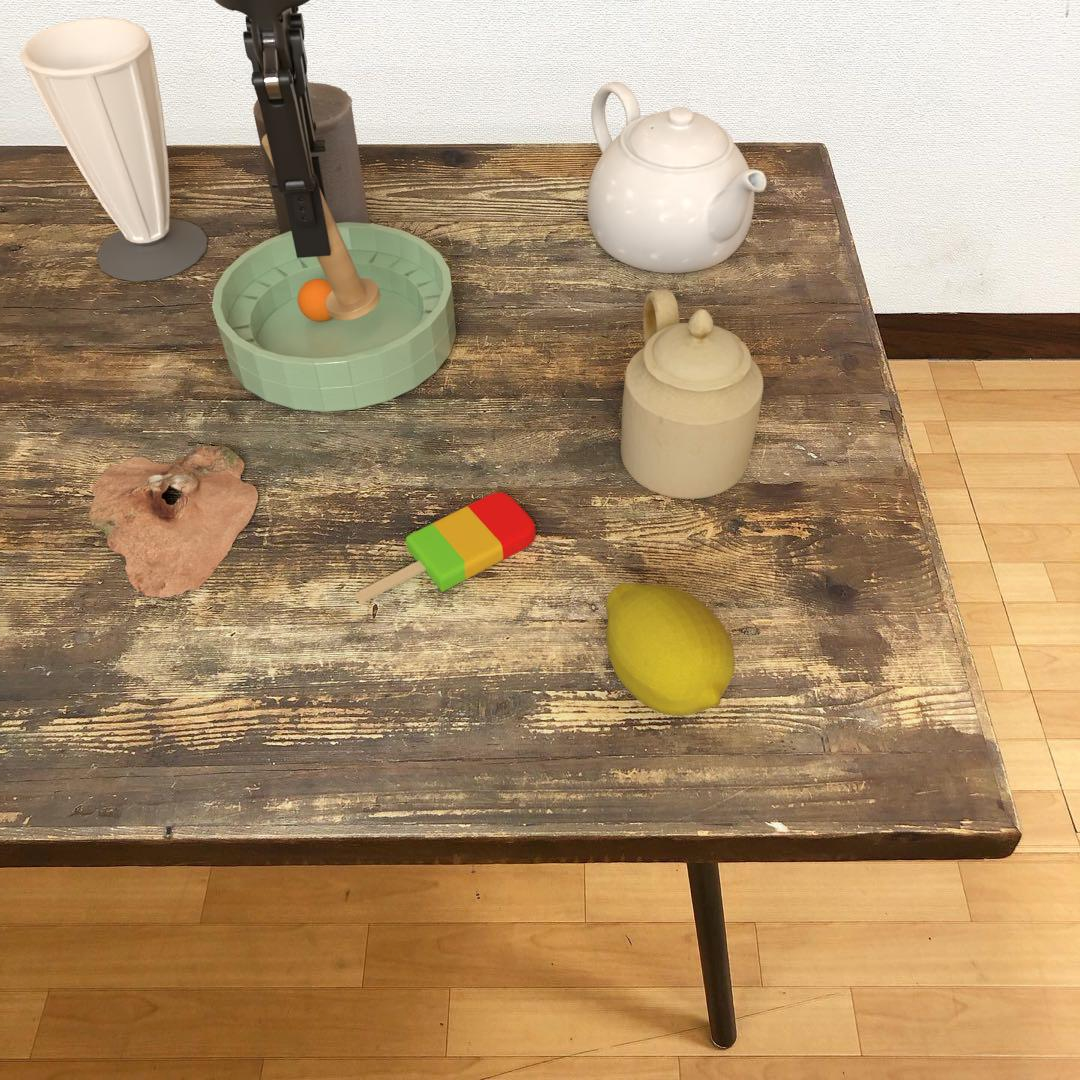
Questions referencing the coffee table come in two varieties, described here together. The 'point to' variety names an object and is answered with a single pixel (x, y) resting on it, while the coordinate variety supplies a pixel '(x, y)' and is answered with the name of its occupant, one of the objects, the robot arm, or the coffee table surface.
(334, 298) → the stick
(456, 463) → the coffee table surface
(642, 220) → the teapot
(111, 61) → the cup
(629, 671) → the lemon
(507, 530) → the popsicle
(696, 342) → the sugar bowl
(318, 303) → the ball
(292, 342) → the bowl
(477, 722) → the coffee table surface
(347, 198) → the pillar candle
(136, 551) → the clay slab
